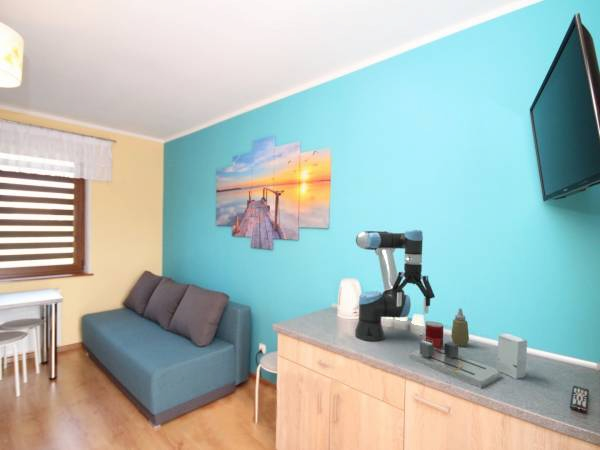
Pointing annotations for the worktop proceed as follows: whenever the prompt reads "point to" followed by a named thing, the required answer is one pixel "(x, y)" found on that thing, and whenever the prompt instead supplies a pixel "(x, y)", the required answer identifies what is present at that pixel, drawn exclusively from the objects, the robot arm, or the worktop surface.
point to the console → (458, 365)
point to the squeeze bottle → (460, 329)
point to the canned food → (434, 333)
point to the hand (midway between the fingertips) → (411, 309)
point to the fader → (426, 348)
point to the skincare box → (511, 355)
